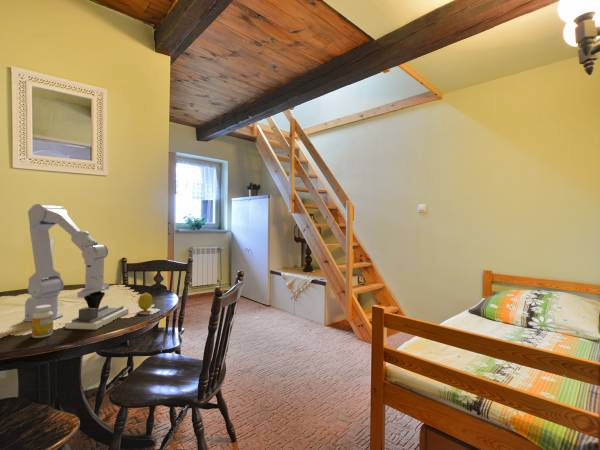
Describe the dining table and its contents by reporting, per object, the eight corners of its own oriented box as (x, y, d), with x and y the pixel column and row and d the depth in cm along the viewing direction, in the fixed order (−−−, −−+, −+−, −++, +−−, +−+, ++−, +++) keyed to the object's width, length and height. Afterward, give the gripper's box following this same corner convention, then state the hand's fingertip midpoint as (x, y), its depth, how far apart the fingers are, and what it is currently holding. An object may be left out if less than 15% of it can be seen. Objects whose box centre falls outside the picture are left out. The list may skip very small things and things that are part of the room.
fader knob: (78, 320, 111) (78, 309, 111) (84, 317, 114) (84, 306, 114) (92, 321, 111) (92, 309, 111) (97, 318, 114) (98, 307, 114)
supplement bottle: (30, 335, 102) (30, 306, 102) (50, 331, 106) (51, 303, 106) (33, 339, 98) (34, 309, 98) (54, 335, 102) (55, 306, 102)
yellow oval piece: (146, 313, 129) (146, 294, 129) (134, 311, 130) (135, 293, 130) (154, 309, 135) (155, 291, 135) (144, 308, 136) (144, 290, 136)
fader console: (65, 328, 109) (65, 319, 109) (102, 311, 129) (102, 304, 129) (95, 329, 109) (96, 321, 109) (128, 312, 129) (128, 305, 129)
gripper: (91, 280, 108) (90, 318, 108) (117, 273, 122) (116, 307, 122) (71, 279, 108) (70, 317, 108) (99, 273, 122) (98, 306, 123)
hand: (93, 312), depth 115 cm, fingers closed
